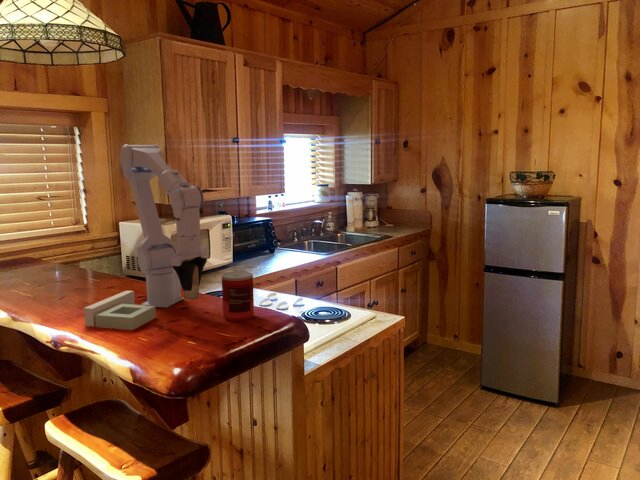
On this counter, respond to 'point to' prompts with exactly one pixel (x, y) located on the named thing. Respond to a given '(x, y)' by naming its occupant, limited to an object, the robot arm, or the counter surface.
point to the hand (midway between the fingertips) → (191, 288)
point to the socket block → (125, 316)
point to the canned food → (237, 296)
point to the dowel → (193, 287)
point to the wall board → (107, 306)
